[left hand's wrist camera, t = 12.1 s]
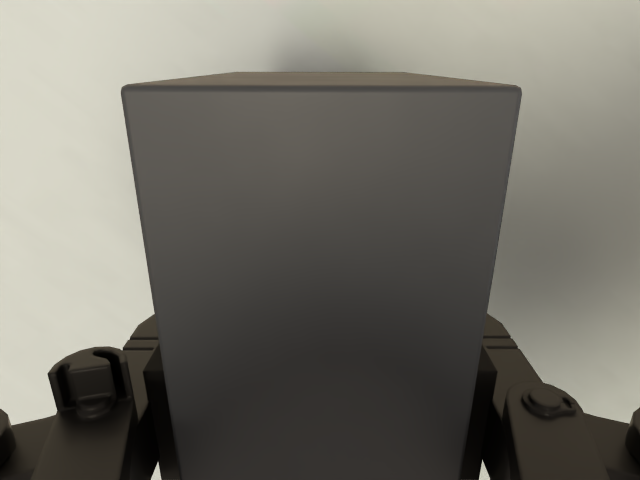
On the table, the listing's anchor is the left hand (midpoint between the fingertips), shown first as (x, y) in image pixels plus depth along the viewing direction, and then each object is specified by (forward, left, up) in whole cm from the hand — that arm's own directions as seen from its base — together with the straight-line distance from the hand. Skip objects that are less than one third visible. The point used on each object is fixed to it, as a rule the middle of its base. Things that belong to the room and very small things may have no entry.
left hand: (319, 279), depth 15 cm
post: (-3, +30, -1) cm, 30 cm away
